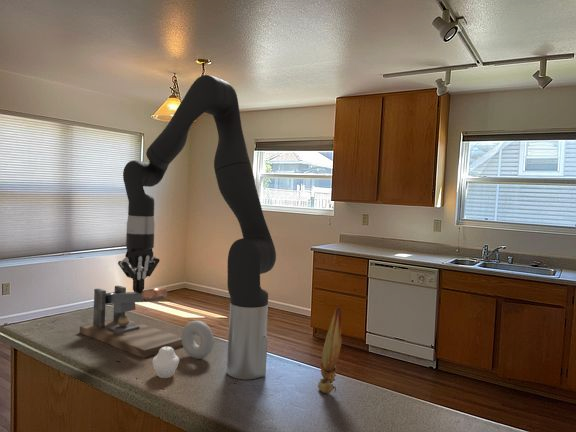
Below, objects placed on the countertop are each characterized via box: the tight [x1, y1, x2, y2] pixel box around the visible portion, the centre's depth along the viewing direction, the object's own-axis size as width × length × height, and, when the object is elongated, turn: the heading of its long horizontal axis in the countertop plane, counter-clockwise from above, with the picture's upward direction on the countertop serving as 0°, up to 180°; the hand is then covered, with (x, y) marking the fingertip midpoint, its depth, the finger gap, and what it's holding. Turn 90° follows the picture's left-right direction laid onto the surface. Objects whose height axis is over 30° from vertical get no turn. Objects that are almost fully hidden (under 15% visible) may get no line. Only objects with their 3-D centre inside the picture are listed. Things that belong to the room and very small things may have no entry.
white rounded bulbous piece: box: [152, 346, 180, 379], centre depth 106 cm, size 6×6×7 cm
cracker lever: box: [105, 286, 168, 313], centre depth 130 cm, size 24×6×6 cm, turn 55°
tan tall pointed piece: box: [317, 306, 343, 394], centre depth 100 cm, size 7×5×20 cm
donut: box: [181, 320, 215, 360], centre depth 118 cm, size 10×4×10 cm, turn 61°
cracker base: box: [79, 285, 183, 359], centre depth 130 cm, size 30×14×13 cm, turn 55°
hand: (138, 292), depth 128 cm, fingers closed
